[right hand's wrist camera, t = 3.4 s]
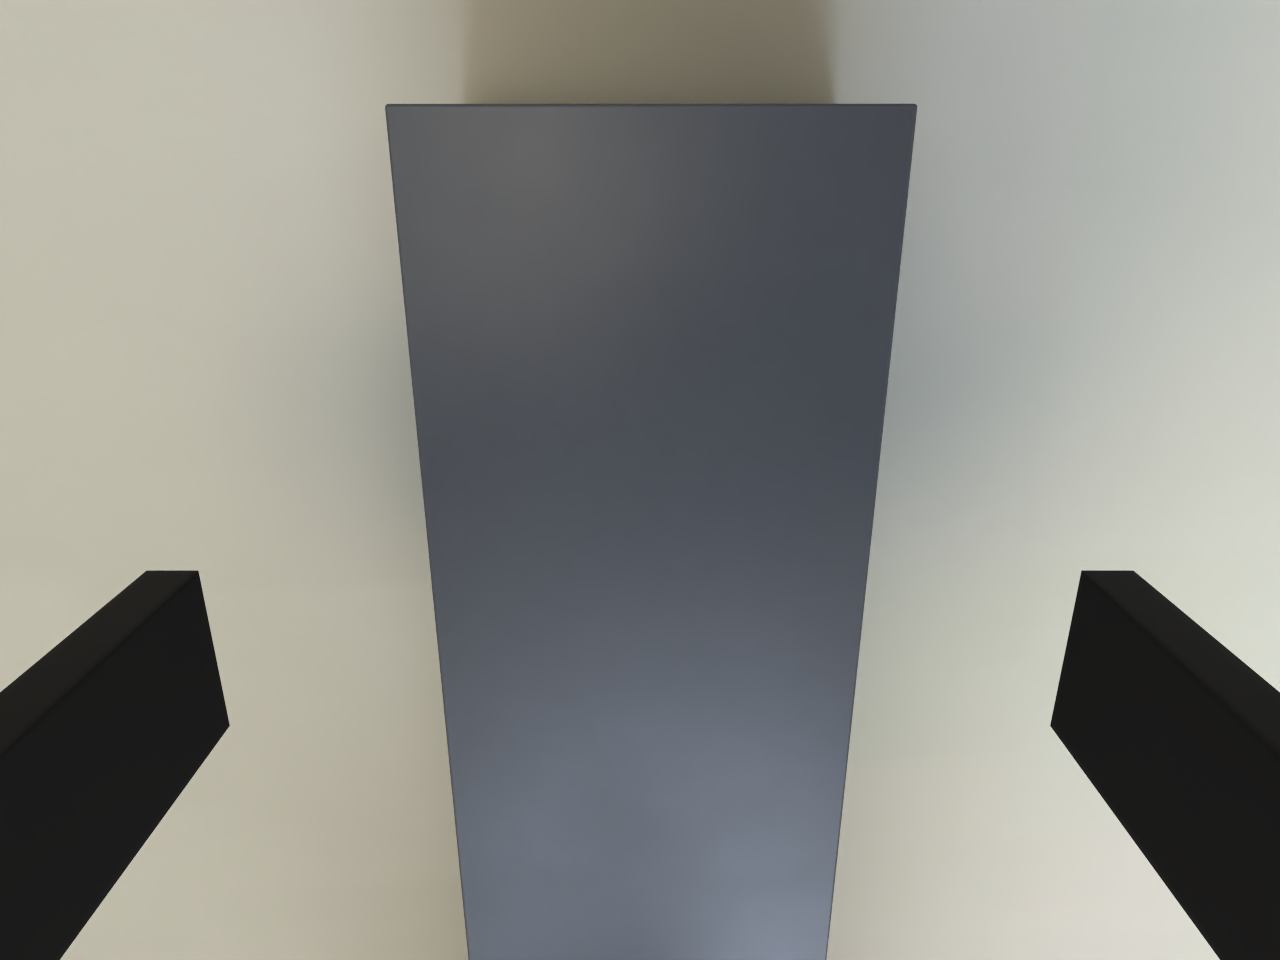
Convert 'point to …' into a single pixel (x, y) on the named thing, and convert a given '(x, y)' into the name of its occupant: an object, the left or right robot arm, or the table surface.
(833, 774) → the wide beam
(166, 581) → the right robot arm
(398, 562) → the table surface
